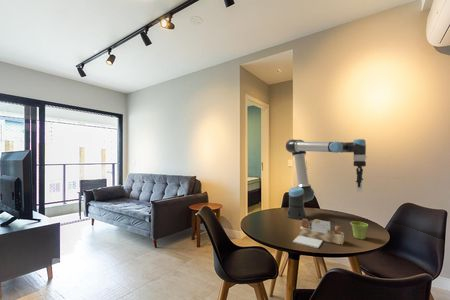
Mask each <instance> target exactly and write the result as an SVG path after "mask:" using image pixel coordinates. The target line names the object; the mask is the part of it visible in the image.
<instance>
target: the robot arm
mask: <svg viewBox="0 0 450 300" xmlns="http://www.w3.org/2000/svg"><path fill="white" fill-rule="evenodd" d="M285 150H286V151H287V152H288V153H291V155H292V157H293V158H294V164H295V171H296V177H297V186H295V187H290V188H289V189H288V209H287V212H286V217H287V218H289V219H293V220H302V219H307V213H306V211H305V203H307V202H310V201H312V200H313V199H314V197H315V191H314V189H313V188H312V186H311V184H310V183H309V178H308V176H309V175H308V171H307V162H306V155H307V152H314V153H315V152H320V153H337V154H338V153H340V154H341V153H352V154H353V156H352V157H353V158H352V159H353V166H354V167H357V168H355V169H356V171H355V172H356V180H355V183H356V192H357V193H362V190H363V181H364V178H363V173H364V168H363V167H366V165H367V162H366V159H367V157H368V156H367V155H366V154H367V151H366V150H367V144H366V140H365V139H364V138H363V139H361V138H357V139H353V141H352V142H351V141H350V142H342V141H340V142H339V141H305V140H302V139H294V138H293V139H288V140H287V141H286V143H285Z"/></svg>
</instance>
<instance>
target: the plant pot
mask: <svg viewBox="0 0 450 300" xmlns="http://www.w3.org/2000/svg"><path fill="white" fill-rule="evenodd" d="M349 223H350V225H351V228H352V233H353V238H355V239H359V240H365V239H366V236H367V229H368V227H369V224H368V223H366V222H363V221H350V222H349Z"/></svg>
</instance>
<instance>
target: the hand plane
mask: <svg viewBox="0 0 450 300" xmlns="http://www.w3.org/2000/svg"><path fill="white" fill-rule="evenodd" d="M301 221H302V222H301V226H300V227H299V236H304V237H309V238H313V239H318V240H322V241H323V242H327V243H332V244H337V245H340V244H341V246H343V244H344V241H345V240H344V239H345V234H344V232H342V227H341V226H340V225H335V226H334V230H331V229H330V231H329V232H328V234H326V233H321V232H316V231H312V222H313V221H314V219H312V220H310V221H309V219H307V218H305V219H301Z"/></svg>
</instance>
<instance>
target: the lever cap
mask: <svg viewBox="0 0 450 300" xmlns="http://www.w3.org/2000/svg"><path fill="white" fill-rule="evenodd" d="M330 230H331V221H327V220H322V219H318V218H316V219H313V222H312V231H316V232H321V233H326V234H328V232H329V231H330Z"/></svg>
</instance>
